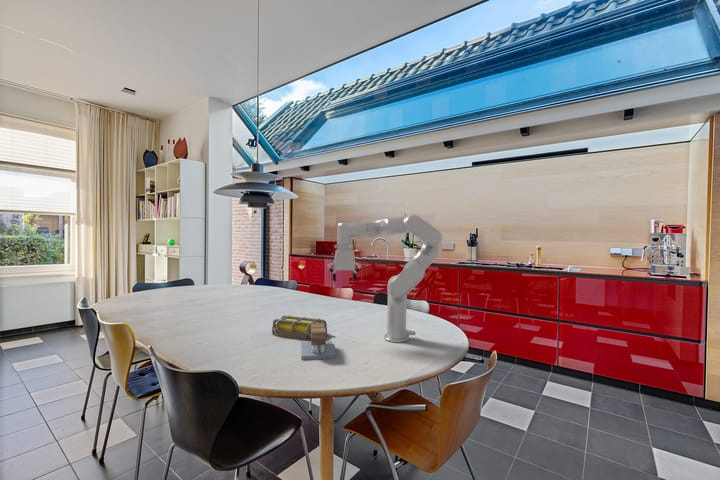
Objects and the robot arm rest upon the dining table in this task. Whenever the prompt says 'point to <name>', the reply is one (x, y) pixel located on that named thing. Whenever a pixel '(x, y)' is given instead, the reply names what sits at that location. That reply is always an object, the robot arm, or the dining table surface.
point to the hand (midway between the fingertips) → (344, 281)
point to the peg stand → (317, 351)
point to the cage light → (295, 327)
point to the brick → (318, 334)
